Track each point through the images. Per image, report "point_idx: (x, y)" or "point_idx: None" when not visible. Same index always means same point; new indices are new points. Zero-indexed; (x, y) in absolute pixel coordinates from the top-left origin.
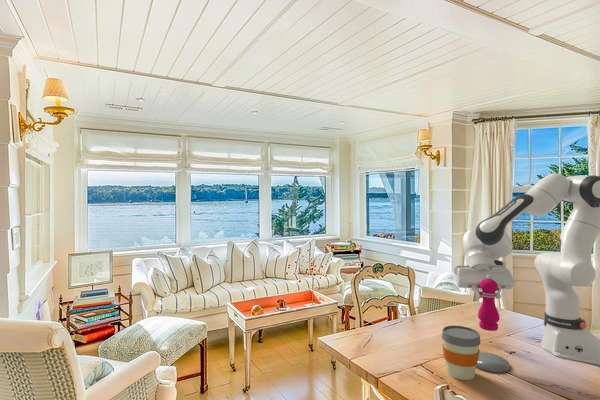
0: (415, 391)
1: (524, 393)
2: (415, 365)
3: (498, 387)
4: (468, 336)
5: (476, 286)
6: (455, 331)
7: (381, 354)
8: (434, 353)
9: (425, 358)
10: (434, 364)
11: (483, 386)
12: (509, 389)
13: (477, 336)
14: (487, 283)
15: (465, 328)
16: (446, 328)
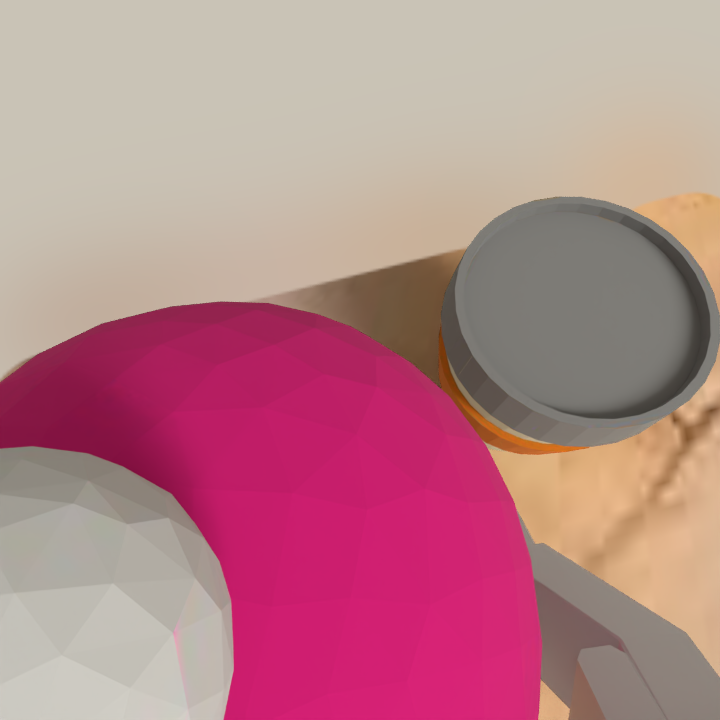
0: (668, 214)
1: (279, 299)
2: (711, 416)
3: (363, 317)
4: (527, 274)
5: (610, 685)
6: (617, 339)
7: None
8: (637, 600)
9: (677, 513)
10: (623, 452)
11: (420, 309)
12: (325, 313)
13: (474, 249)
14: (318, 317)
15: (543, 409)
16: (689, 375)
